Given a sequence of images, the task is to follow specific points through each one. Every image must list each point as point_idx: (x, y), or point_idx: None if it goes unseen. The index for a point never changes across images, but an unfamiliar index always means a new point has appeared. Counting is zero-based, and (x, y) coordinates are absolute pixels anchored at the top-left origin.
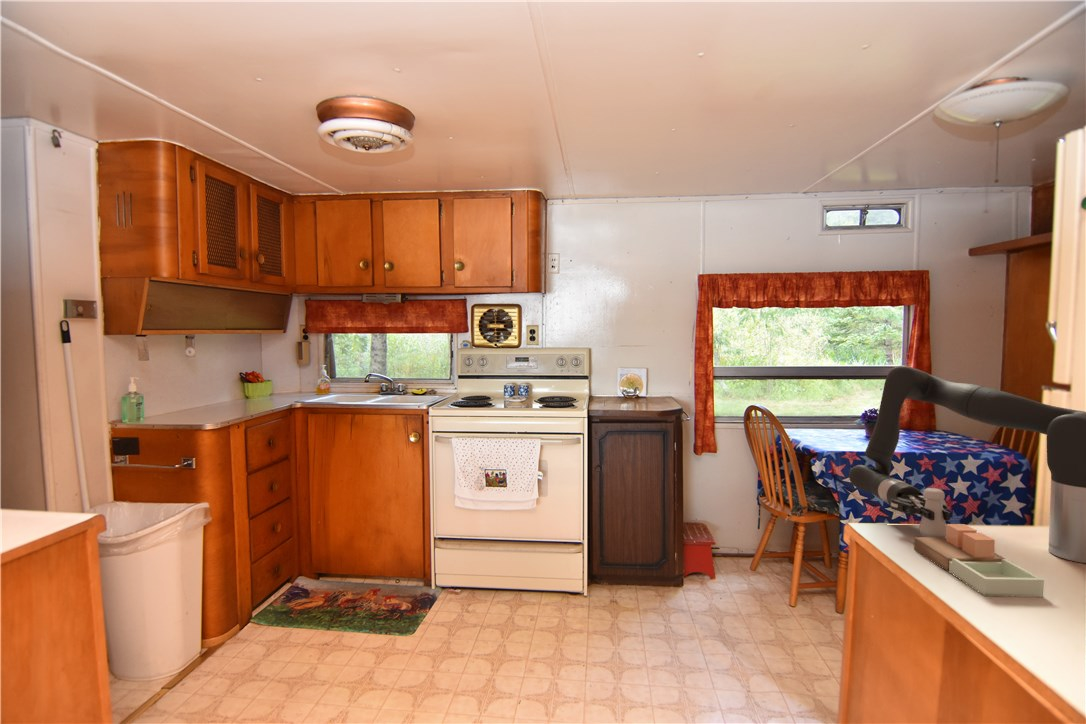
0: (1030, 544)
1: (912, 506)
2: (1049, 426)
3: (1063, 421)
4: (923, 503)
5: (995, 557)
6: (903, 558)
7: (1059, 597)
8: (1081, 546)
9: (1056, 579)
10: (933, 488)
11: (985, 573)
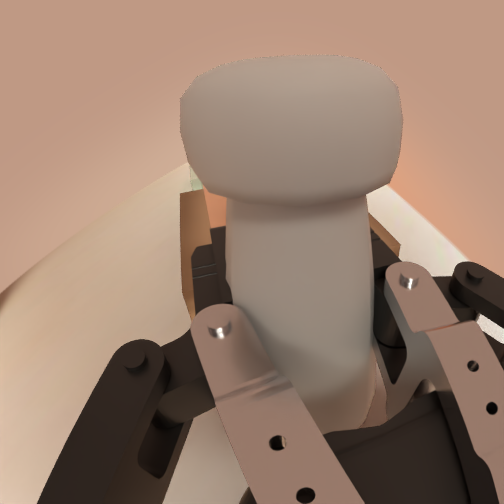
0: None
1: (460, 267)
2: None
3: None
4: (363, 428)
5: (200, 192)
6: (413, 228)
7: (168, 183)
8: None
9: (108, 227)
10: (284, 57)
11: None
